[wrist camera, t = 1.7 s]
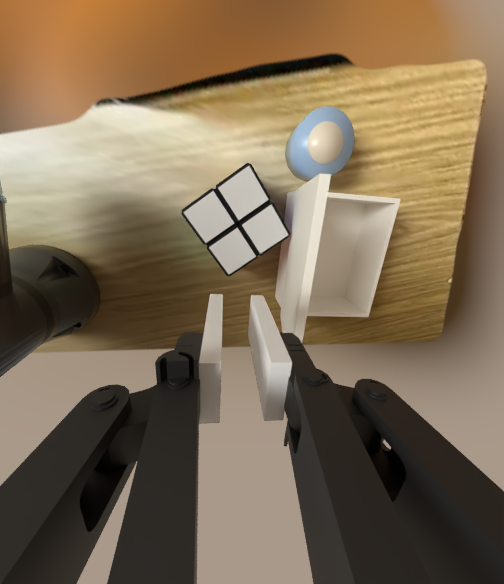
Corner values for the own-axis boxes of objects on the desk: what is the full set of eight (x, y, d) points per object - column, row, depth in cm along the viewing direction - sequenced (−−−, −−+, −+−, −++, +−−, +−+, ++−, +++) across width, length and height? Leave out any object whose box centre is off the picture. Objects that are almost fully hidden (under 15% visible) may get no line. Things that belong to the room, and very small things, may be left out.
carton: (274, 297, 43) (285, 315, 36) (287, 192, 37) (302, 189, 30) (345, 299, 45) (368, 317, 38) (367, 200, 39) (400, 198, 32)
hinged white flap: (285, 316, 36) (280, 315, 36) (302, 189, 30) (296, 189, 30) (296, 378, 23) (287, 377, 23) (331, 174, 17) (319, 173, 17)
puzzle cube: (276, 228, 39) (292, 235, 30) (227, 261, 40) (228, 278, 31) (243, 172, 35) (249, 160, 26) (190, 210, 37) (178, 211, 27)
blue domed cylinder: (282, 178, 36) (292, 174, 31) (288, 118, 34) (300, 101, 28) (330, 183, 37) (347, 179, 32) (340, 124, 35) (361, 110, 29)
